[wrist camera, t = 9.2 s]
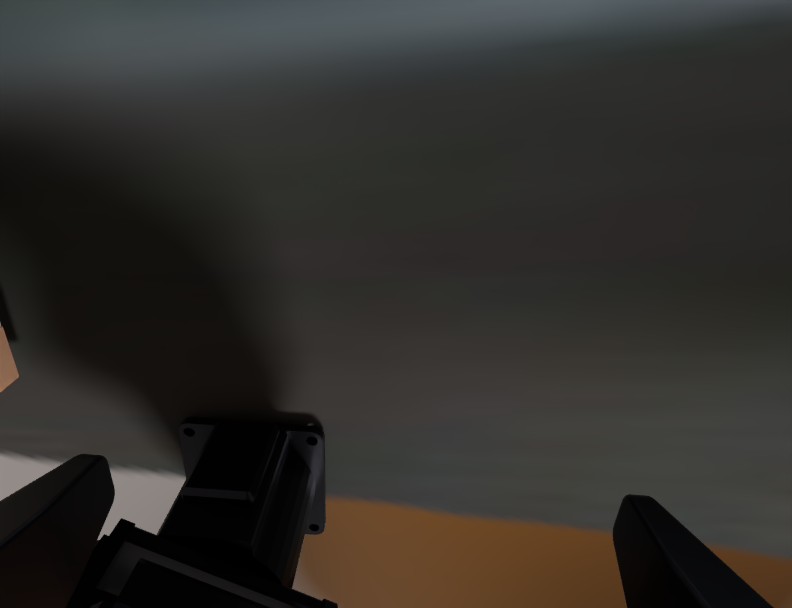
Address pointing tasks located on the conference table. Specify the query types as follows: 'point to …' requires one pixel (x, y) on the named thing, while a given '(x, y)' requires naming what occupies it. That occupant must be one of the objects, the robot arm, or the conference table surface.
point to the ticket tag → (6, 362)
